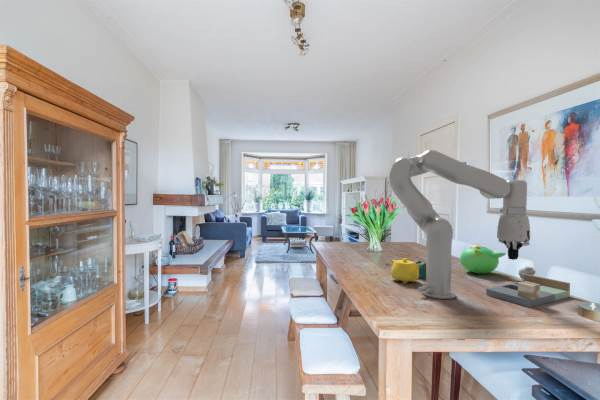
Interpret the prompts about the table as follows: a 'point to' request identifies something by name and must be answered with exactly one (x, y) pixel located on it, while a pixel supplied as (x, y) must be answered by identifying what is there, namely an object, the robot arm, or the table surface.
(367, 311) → the table surface
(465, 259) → the green rounded piece
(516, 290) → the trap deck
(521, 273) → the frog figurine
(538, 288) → the block
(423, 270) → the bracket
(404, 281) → the teapot
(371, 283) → the table surface
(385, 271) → the table surface
